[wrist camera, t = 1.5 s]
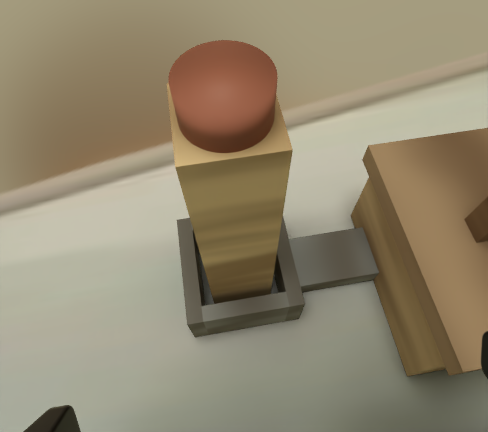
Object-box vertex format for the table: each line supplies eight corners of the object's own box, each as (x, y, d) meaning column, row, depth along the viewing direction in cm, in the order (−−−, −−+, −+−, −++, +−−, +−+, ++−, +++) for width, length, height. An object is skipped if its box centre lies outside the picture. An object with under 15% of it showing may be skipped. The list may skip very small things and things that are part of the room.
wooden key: (269, 299, 23) (298, 113, 9) (215, 309, 23) (165, 131, 9) (259, 251, 24) (271, 29, 11) (209, 259, 24) (156, 43, 11)
